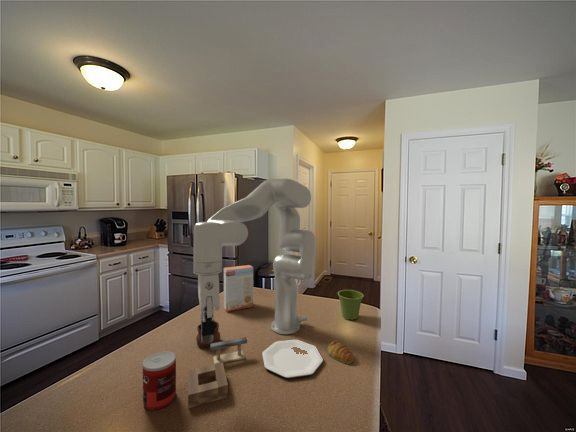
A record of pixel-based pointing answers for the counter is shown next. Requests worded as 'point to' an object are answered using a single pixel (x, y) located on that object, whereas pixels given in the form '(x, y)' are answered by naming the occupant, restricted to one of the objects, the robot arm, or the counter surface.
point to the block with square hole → (206, 385)
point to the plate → (291, 359)
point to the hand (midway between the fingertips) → (207, 330)
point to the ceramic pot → (215, 336)
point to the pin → (205, 338)
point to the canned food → (159, 380)
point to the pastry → (340, 352)
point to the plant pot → (350, 303)
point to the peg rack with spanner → (229, 356)
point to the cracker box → (238, 287)
